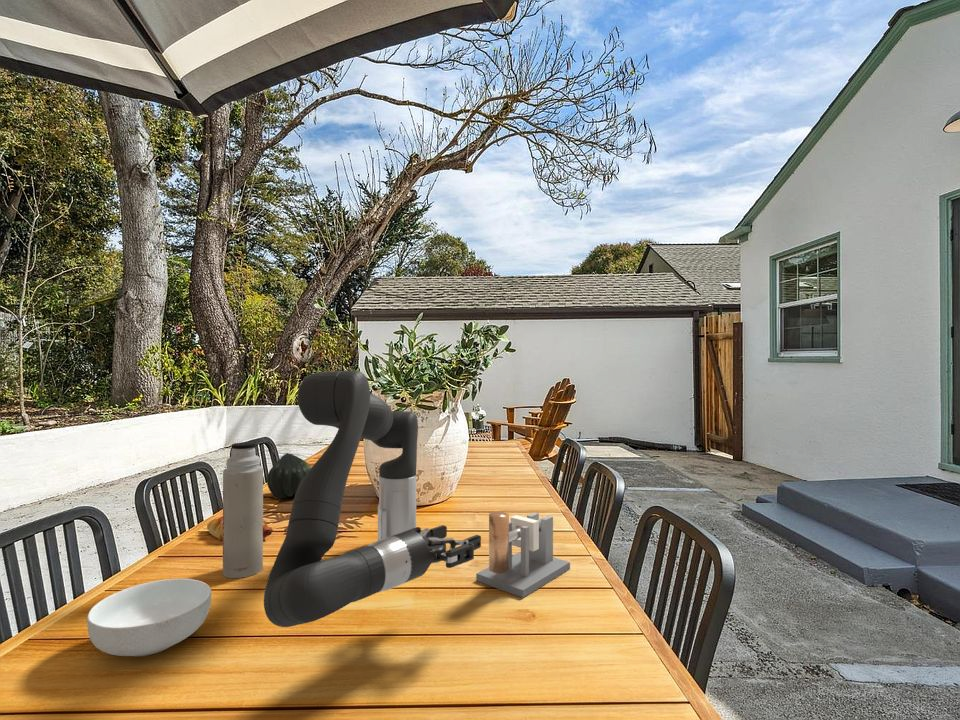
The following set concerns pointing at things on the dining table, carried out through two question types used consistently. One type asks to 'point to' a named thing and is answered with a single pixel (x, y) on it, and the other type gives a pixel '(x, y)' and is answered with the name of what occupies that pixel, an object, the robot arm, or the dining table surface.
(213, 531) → the croissant
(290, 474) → the squash
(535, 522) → the block
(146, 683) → the dining table surface
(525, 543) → the shaft bracket
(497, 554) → the shaft
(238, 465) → the thermos bottle
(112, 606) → the cereal bowl
